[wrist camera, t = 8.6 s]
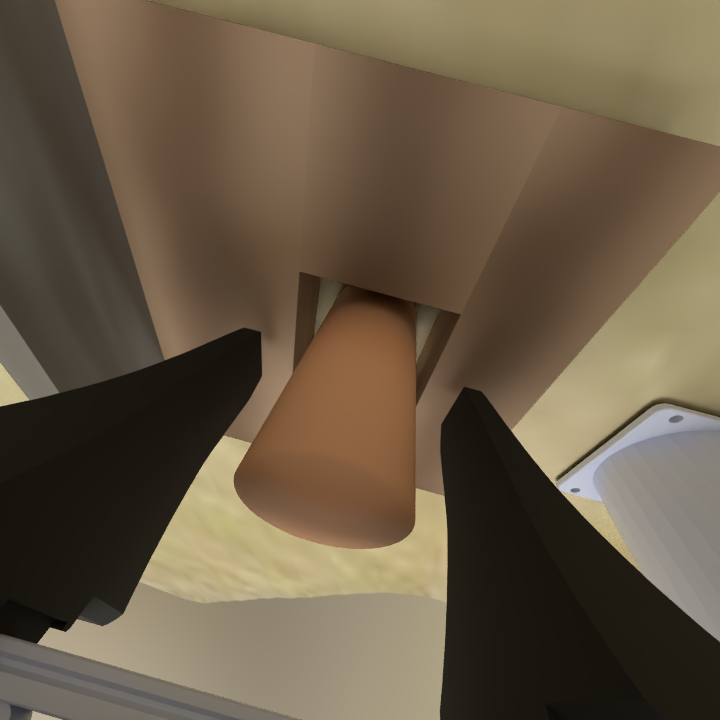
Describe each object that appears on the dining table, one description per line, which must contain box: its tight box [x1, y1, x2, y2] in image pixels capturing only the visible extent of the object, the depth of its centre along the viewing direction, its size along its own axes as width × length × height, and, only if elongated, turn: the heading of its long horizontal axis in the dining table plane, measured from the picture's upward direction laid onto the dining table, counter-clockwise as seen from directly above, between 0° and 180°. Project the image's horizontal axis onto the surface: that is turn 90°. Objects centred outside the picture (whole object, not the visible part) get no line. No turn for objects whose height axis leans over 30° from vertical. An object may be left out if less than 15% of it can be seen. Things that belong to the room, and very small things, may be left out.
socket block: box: [0, 0, 720, 496], centre depth 10 cm, size 18×16×7 cm
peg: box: [234, 285, 416, 549], centre depth 10 cm, size 4×4×9 cm
